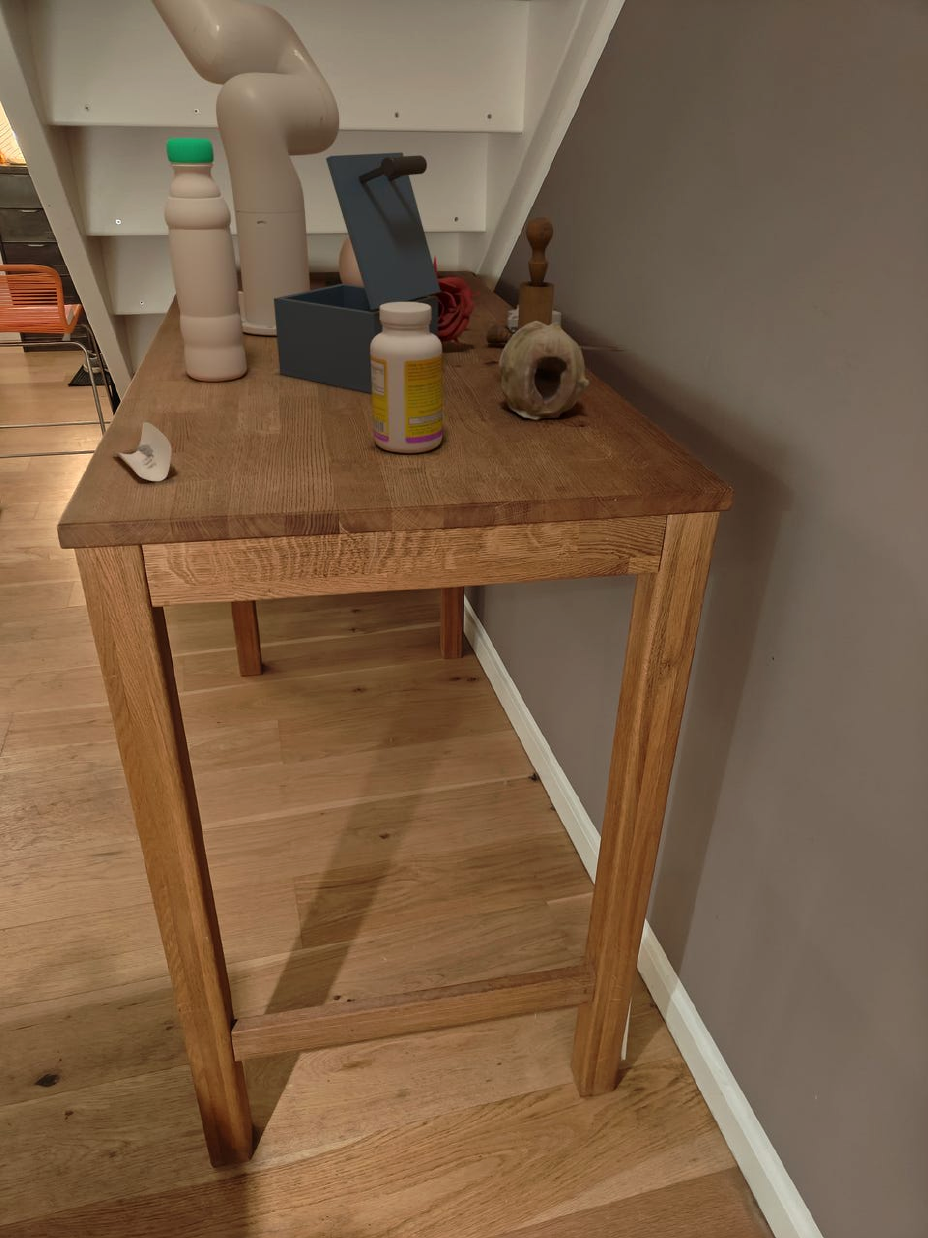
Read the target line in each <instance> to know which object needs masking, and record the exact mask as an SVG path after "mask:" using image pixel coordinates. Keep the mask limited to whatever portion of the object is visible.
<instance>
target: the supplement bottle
mask: <svg viewBox="0 0 928 1238" xmlns="http://www.w3.org/2000/svg"><path fill="white" fill-rule="evenodd" d="M379 319H380V321H381V324H382V325H383V326H382V332H381V333H379V334H378V335H376V336H375V337H374V338H373V340H372V342H371V345H370V357H371V379H372V393H371V400H372V402H371V403H372V421H373V422H372V424H373V425H372V426H373V438H374V442H375V444H376V445H377V446H378V447H379V448H381V449H383V450H385V451H388V452H394V453H401V454H419V453H424V452H429V451H431V450H433V449H435V448H437V447H438V446H439V445H441V443H442V440H443V345H442V344H443V343H441V342H440V340H439V339H438V337H437V336H435V335H434V334H432V333H430V332H429V324H430V321H431V319H432V317H431V306H430V305H427V304H424V303H417V302H392V303H386V304H383V305H381V306H380V317H379Z"/></svg>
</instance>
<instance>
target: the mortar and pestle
mask: <svg viewBox="0 0 928 1238" xmlns="http://www.w3.org/2000/svg"><path fill="white" fill-rule="evenodd" d="M525 236H526V240H527V242H528V245H529V246H530V248H531V253H532V254H531V259H530V260H528V261H527V266H528V272H529V273H528V274H529V277H530V278H529V279H530V280H529V281H522V282H520V283H519V293H518V294H519V295H518V305H519V314H518V330H519V329H520V328H522V327H524V326H525V325H527V324H529V323H531V322H534V321H539V322H541V323H543V324H546V325H551V320H552V306H553V305H554V294H555V293H554V292H555V284H554V283H552V282H549V281H548V282H547V281H545V278H546V274H547V272H548V267H549V261H548V260H547V259H546V250H547V248H548V246H549V244H550V242H551V241H552V238H553V236H554V227H553V224H552V222H551V221H550V219H548V218H547V217H533V218H532V219H531V220H530V221H528V224H527V226H526V228H525ZM553 307H554V306H553Z"/></svg>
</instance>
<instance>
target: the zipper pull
mask: <svg viewBox="0 0 928 1238" xmlns="http://www.w3.org/2000/svg"><path fill="white" fill-rule="evenodd" d="M518 314H519V304H517V305H516V309H512V310H508V311H507V323H506V326H507V328H508V330H510V331H512V332H515V333H516V332H517V331H518ZM552 323H559V325H560V327H561V328H562V313H561V312H560V311H557V310H554V306H552V320H551V324H552Z"/></svg>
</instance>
